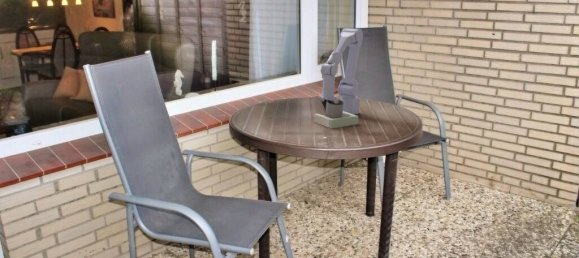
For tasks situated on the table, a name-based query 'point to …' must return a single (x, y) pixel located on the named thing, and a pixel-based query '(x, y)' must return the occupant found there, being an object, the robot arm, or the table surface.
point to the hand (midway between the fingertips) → (327, 115)
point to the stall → (337, 120)
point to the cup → (334, 109)
